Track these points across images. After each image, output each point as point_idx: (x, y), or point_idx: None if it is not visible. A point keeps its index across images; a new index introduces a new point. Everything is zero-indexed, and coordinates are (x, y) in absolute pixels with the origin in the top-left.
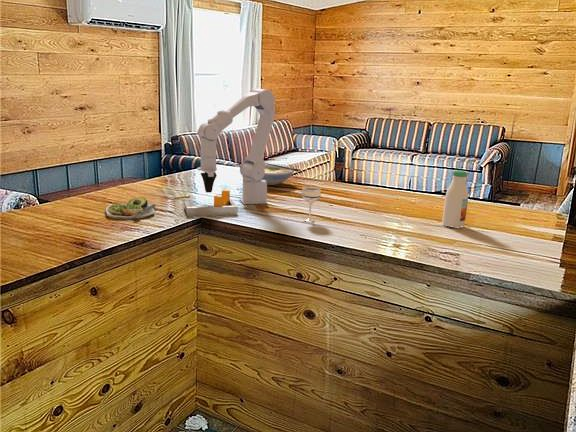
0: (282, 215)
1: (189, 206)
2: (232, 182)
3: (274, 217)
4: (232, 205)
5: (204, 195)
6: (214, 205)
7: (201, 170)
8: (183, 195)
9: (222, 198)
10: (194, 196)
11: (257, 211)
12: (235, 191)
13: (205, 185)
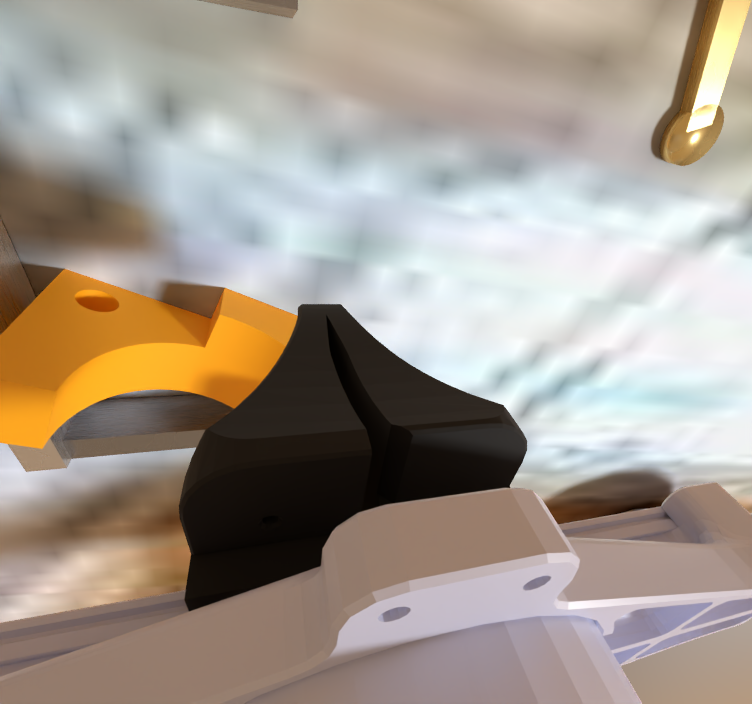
0: (89, 577)
1: None
2: (741, 430)
3: (32, 559)
4: (119, 436)
5: (631, 280)
6: (25, 311)
7: (286, 587)
8: (718, 97)
9: (59, 425)
10: (654, 203)
11: (167, 503)
12: (601, 434)
13: (284, 351)
